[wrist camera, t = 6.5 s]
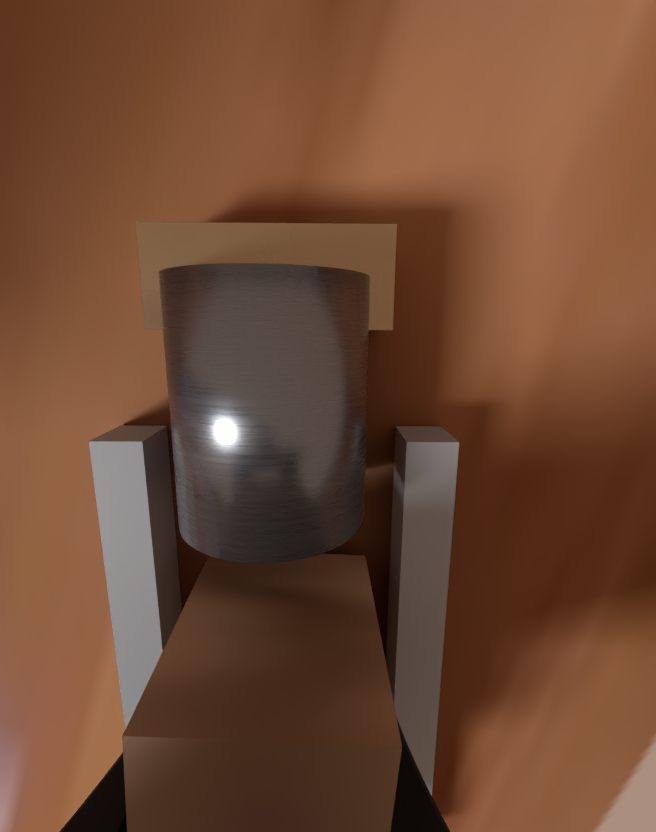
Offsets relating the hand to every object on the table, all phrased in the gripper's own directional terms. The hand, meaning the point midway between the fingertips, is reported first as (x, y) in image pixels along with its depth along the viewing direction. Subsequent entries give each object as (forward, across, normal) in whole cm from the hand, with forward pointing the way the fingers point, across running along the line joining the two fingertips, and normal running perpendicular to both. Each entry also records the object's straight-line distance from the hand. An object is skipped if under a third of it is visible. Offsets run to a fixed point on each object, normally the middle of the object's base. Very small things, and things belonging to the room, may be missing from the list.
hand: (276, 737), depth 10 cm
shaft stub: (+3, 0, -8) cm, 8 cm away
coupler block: (+2, 0, 0) cm, 2 cm away
